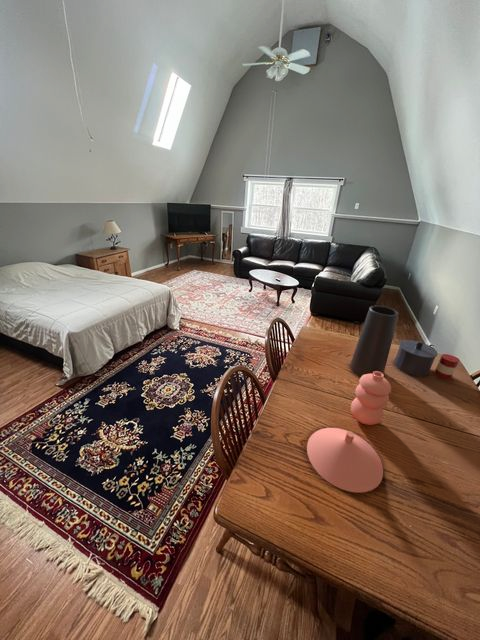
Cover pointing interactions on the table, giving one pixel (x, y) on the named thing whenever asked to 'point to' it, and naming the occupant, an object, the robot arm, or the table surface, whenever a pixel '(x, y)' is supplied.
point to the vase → (374, 341)
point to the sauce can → (446, 366)
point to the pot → (413, 363)
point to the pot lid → (418, 349)
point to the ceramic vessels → (352, 441)
